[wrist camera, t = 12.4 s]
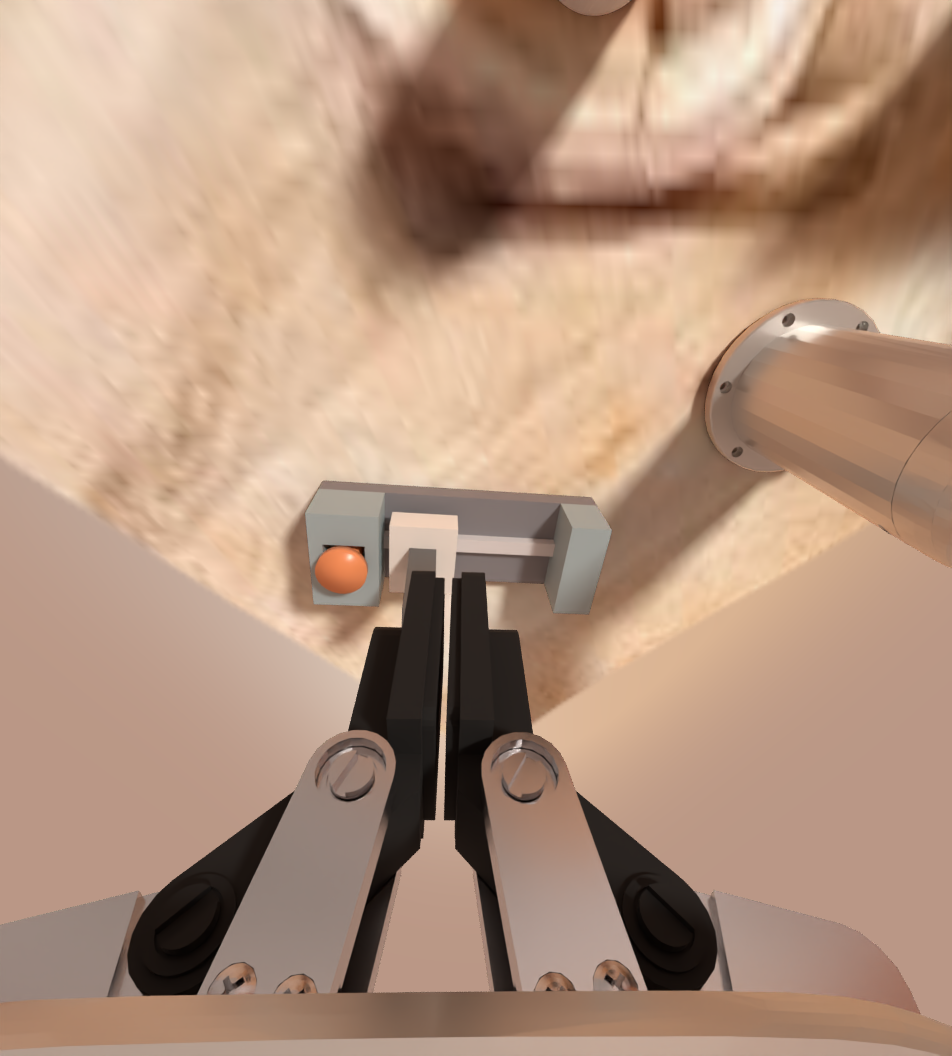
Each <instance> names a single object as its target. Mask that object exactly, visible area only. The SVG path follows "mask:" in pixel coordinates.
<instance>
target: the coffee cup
mask: <svg viewBox="0 0 952 1056" xmlns="http://www.w3.org/2000/svg"><path fill="white" fill-rule="evenodd" d="M559 1H560V2H561V3H562V4H563V5H565V6H566V7H567V8H569V9H571V10H573V11H575V12H577V13H580V14H583V15H589V16H599V15H605V14H608V13H611V12H614V11H616V10H618V9H620V8H622V7H623V6H625V5H626V4H627V3H629V2H630V1H631V0H559Z"/></svg>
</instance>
